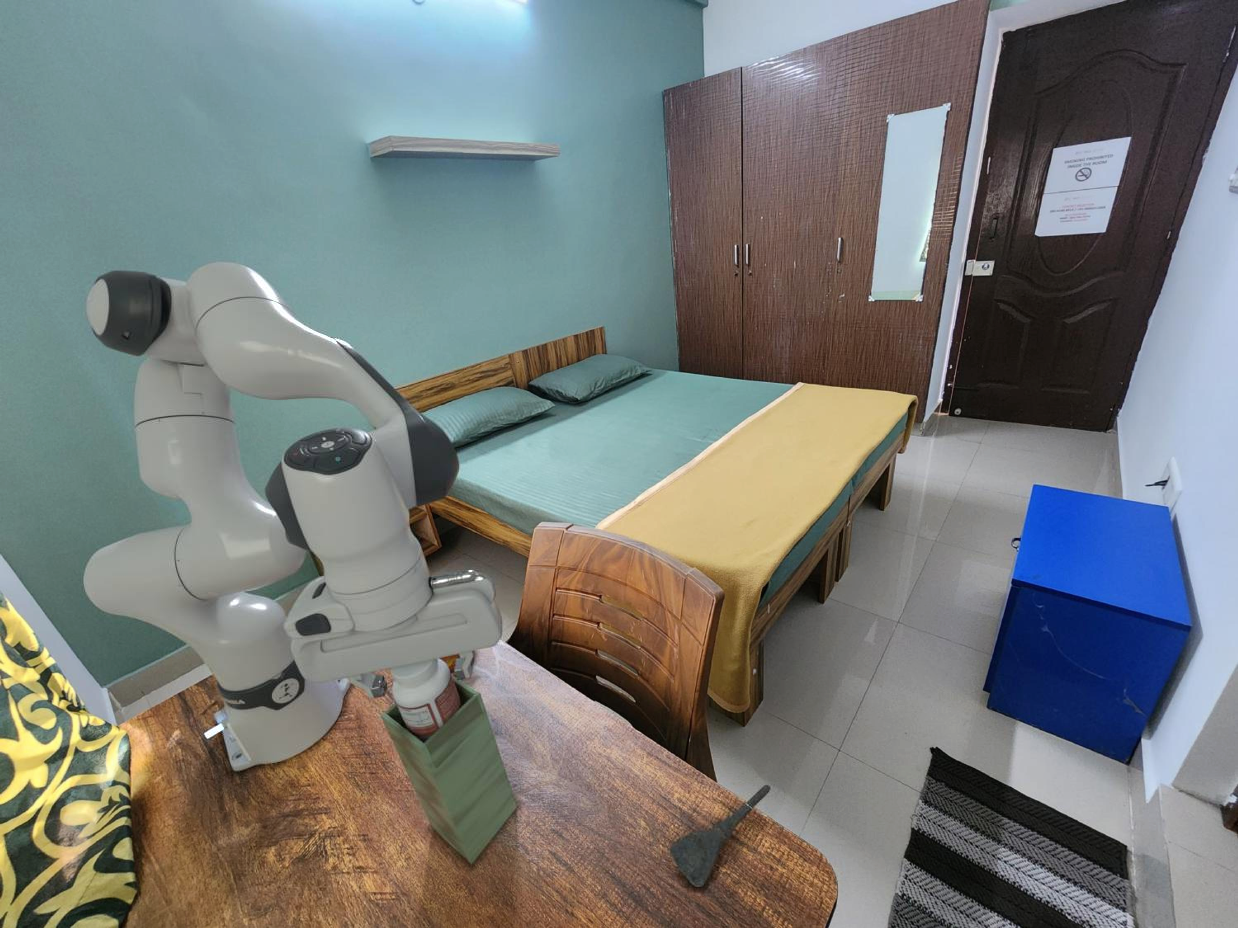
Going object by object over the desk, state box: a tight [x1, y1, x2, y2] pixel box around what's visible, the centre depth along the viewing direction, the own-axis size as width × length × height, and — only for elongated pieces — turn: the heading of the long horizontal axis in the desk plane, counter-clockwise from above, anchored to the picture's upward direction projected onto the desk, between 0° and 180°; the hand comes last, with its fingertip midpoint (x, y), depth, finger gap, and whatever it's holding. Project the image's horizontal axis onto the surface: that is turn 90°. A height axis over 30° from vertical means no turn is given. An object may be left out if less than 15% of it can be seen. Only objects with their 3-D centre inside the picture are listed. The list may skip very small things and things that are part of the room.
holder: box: [380, 676, 518, 865], centre depth 63 cm, size 8×8×22 cm
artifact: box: [669, 784, 771, 888], centre depth 62 cm, size 15×2×5 cm
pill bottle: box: [390, 658, 463, 743], centre depth 57 cm, size 6×6×11 cm
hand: (422, 683), depth 57 cm, fingers open, 8 cm apart
